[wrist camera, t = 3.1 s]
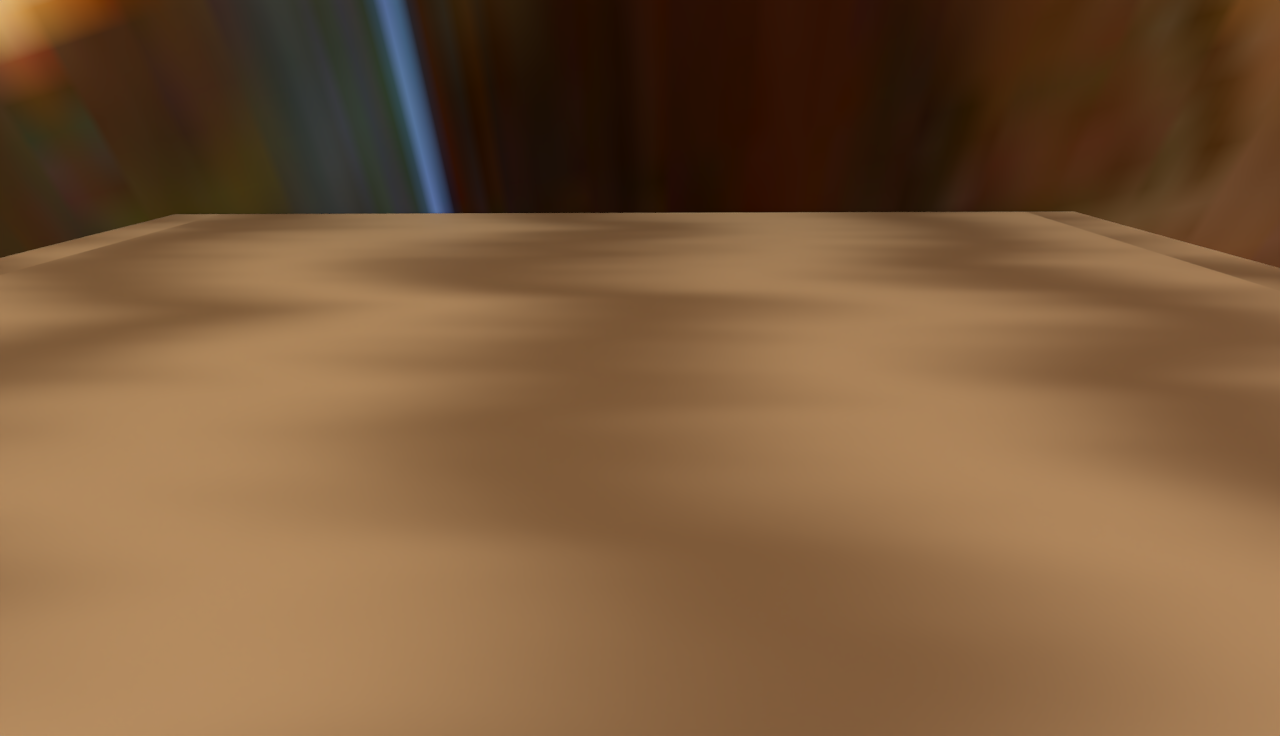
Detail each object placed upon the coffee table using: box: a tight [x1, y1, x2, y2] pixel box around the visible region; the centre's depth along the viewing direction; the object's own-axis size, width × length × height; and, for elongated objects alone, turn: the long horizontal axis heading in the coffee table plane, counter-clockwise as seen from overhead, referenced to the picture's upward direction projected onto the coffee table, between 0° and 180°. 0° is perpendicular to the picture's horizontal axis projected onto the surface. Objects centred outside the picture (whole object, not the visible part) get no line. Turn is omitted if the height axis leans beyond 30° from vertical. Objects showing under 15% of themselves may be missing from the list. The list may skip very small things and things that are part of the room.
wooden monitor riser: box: [0, 212, 1280, 736], centre depth 10 cm, size 23×12×12 cm, turn 90°
